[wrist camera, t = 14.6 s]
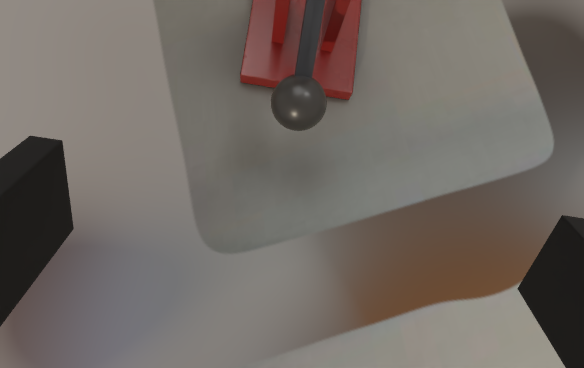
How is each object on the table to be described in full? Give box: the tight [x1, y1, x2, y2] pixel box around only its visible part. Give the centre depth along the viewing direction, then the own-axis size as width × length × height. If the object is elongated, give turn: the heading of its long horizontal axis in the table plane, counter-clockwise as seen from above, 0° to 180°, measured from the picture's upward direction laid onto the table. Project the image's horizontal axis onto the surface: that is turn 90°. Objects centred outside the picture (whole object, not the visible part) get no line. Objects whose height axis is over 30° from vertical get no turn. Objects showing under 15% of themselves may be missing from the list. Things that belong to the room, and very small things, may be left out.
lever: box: [271, 0, 327, 131], centre depth 26 cm, size 14×4×4 cm, turn 173°
